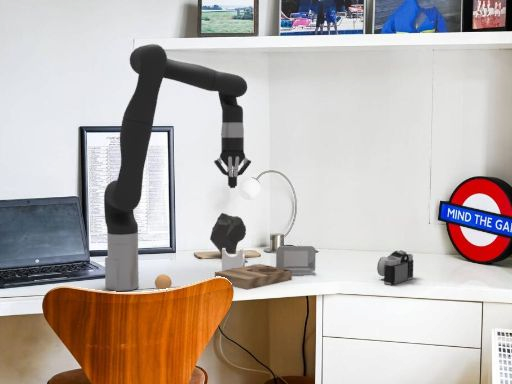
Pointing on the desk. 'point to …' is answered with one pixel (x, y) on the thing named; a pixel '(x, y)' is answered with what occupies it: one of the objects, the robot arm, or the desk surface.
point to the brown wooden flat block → (255, 276)
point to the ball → (163, 282)
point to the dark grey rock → (228, 233)
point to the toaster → (296, 259)
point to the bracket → (232, 259)
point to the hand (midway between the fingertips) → (232, 187)
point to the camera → (396, 267)
